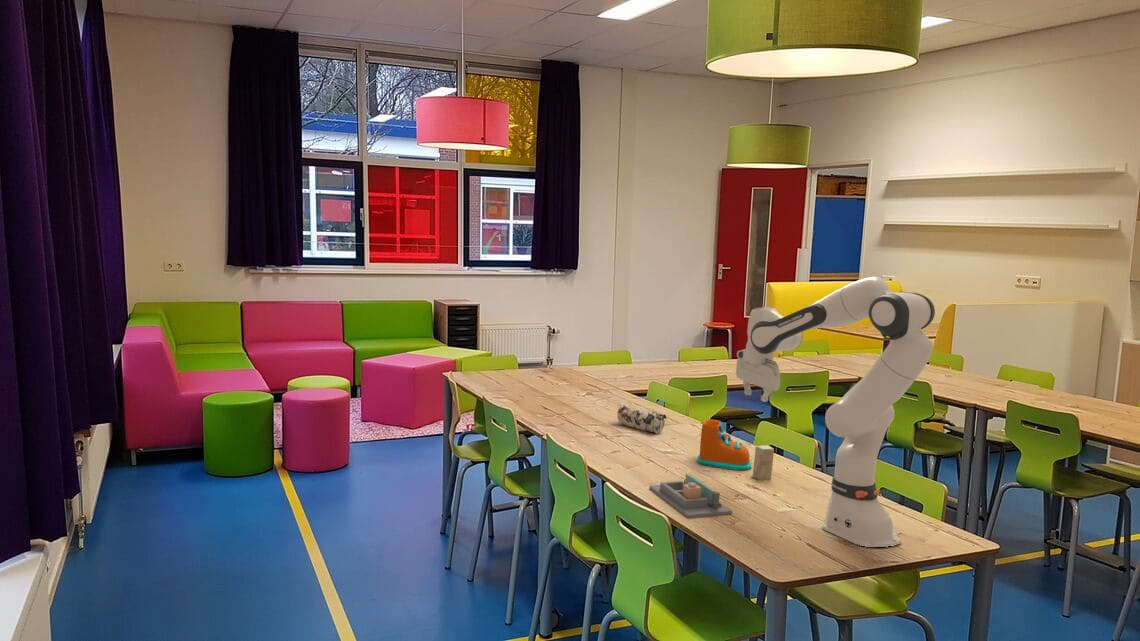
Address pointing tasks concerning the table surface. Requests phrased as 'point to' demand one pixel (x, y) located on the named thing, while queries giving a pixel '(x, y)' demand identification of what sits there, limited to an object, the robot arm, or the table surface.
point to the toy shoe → (721, 448)
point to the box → (763, 462)
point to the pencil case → (641, 419)
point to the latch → (705, 490)
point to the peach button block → (691, 491)
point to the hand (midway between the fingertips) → (755, 398)
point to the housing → (689, 501)
